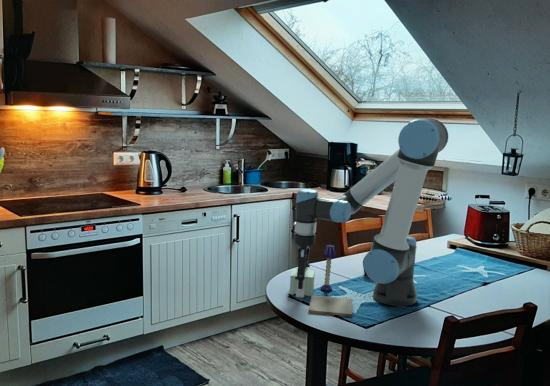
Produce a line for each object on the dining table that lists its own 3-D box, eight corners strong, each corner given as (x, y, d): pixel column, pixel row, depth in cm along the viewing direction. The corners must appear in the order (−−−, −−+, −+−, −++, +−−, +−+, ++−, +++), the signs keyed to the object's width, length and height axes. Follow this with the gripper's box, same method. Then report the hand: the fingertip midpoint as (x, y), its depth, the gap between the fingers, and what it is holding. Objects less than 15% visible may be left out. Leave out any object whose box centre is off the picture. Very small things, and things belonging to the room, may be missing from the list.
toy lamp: (325, 286, 203) (328, 243, 200) (336, 289, 200) (339, 245, 197) (318, 289, 199) (320, 245, 196) (328, 292, 196) (331, 248, 194)
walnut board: (351, 301, 189) (352, 298, 188) (352, 317, 175) (352, 314, 175) (311, 297, 190) (311, 295, 190) (308, 313, 177) (308, 310, 177)
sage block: (313, 288, 200) (314, 270, 199) (312, 296, 192) (313, 277, 191) (292, 286, 201) (292, 268, 200) (289, 294, 193) (290, 275, 192)
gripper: (297, 224, 206) (294, 278, 209) (290, 240, 182) (287, 301, 185) (317, 226, 205) (314, 280, 208) (313, 242, 181) (309, 303, 184)
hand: (301, 290), depth 197 cm, fingers open, 12 cm apart
